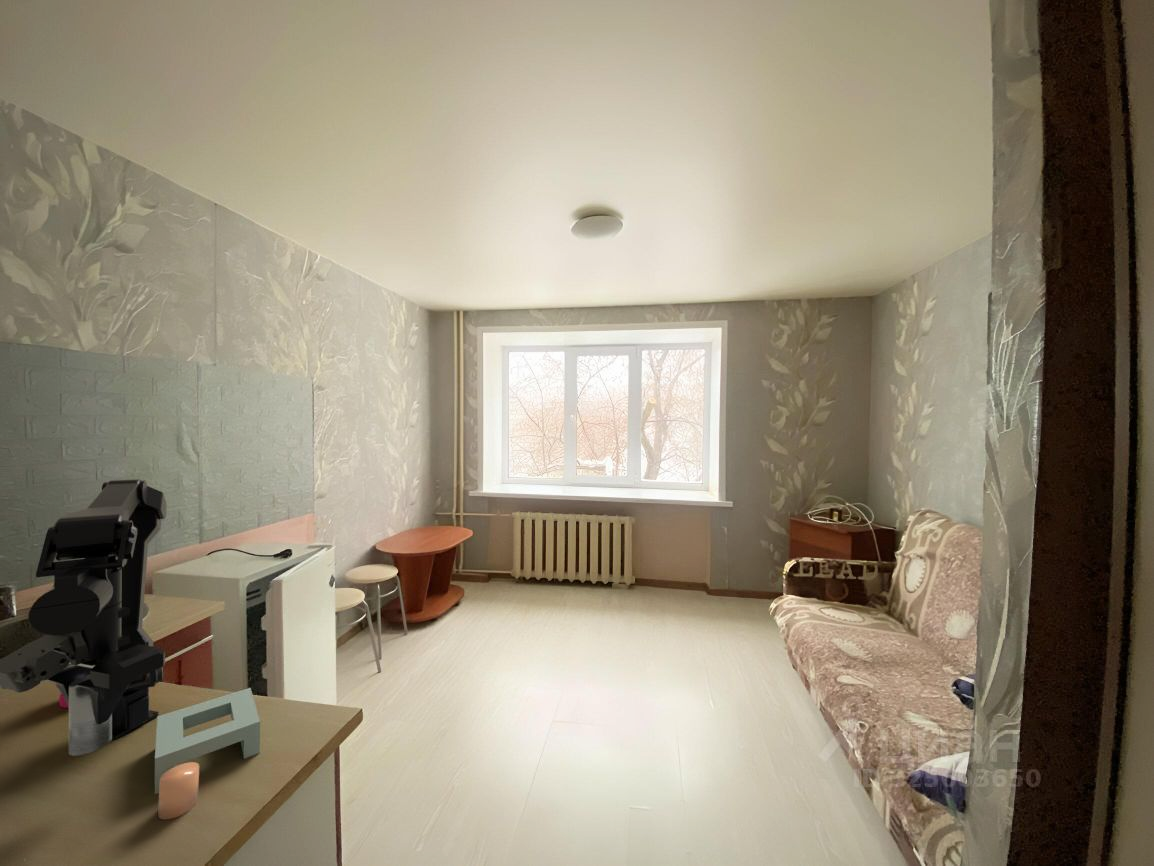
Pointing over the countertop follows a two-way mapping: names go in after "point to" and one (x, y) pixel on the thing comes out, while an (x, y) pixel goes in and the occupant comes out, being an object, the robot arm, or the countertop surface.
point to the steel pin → (85, 722)
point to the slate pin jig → (206, 731)
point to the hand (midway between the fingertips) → (91, 719)
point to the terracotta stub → (178, 790)
